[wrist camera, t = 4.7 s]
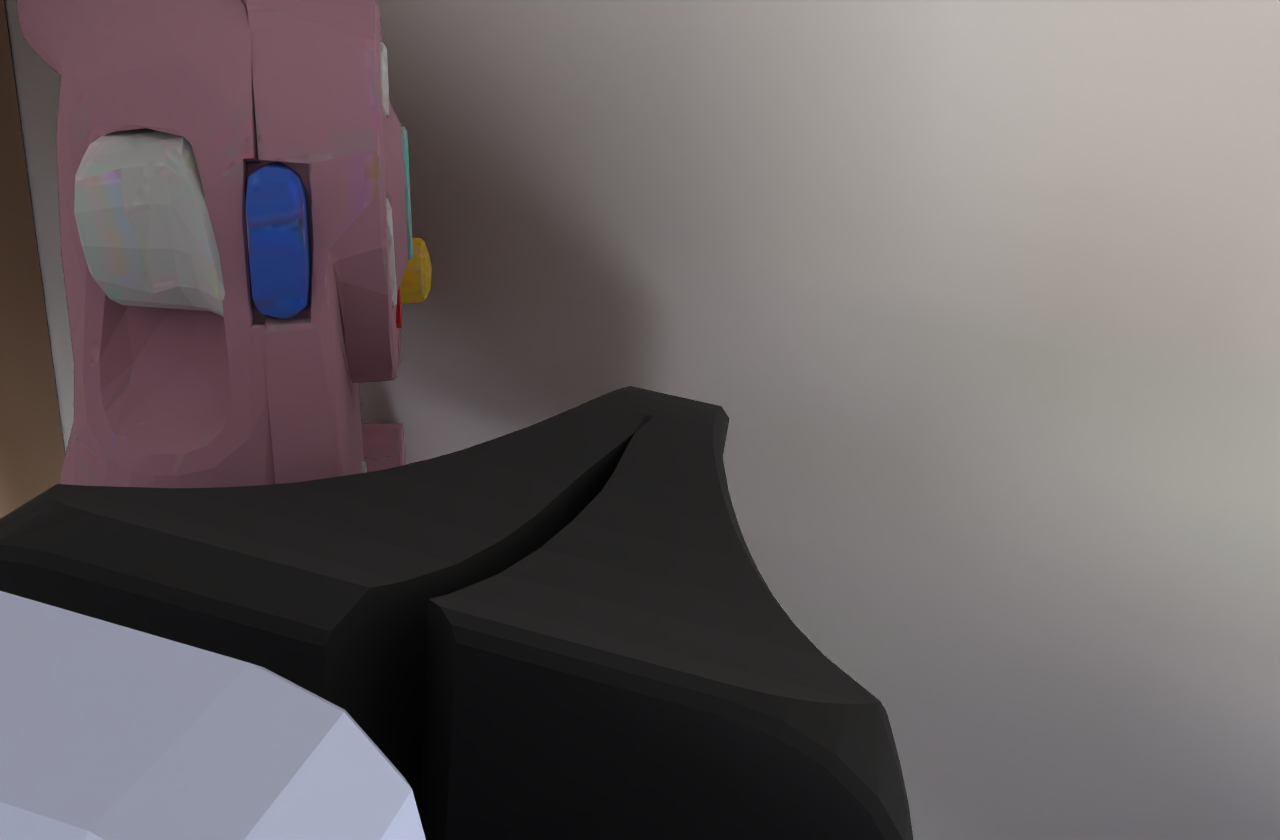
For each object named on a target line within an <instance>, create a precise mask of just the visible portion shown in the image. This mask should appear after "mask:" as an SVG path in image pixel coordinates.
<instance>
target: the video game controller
mask: <svg viewBox="0 0 1280 840" xmlns="http://www.w3.org/2000/svg"><path fill="white" fill-rule="evenodd" d="M16 3H17V14H18V20H19V23H20V27H21V31H22V34H23V38H24V40H25V41H26V42H27V43H28V44H29V45H30V46H31V47H32V49H33V50H34V51H35V52H36V53H37V54H38V55H39V56H40V58H41V59H42V60H43V61H44V62H46V63H47V64H48V65H49V66H50V67H52V68H53V69H54V70H55V71H56V72H58V73H59V74H60V75H61V85H60V96H59V105H58V118H57V130H56V150H57V171H58V192H59V213H60V234H61V254H62V262H63V271H64V280H65V289H66V297H67V306H68V315H69V323H70V332H71V341H72V350H73V358H74V422H73V426H72V430H71V434H70V438H69V442H68V446H67V450H66V454H65V458H64V463H63V467H62V472H61V484H67V485H83V486H114V487H147V488H214V487H239V486H257V485H270V484H284V483H295V482H303V481H310V480H317V479H324V478H331V477H338V476H345V475H352V474H359V473H366V472H373V471H379V470H384V469H389V468H394V467H398V466H402V465H405V451H404V434H403V426H402V424H361V409H360V393H359V383H362V382H375V381H388V380H394V379H395V378H397V367H398V366H399V364H400V362H401V336H400V328H401V304H405V303H417V302H423V301H424V300H425V299H427V297H428V294H429V292H430V289H431V278H432V266H431V261H430V256H429V252H428V249H427V247H426V244H425V242H424V240H422V239H421V238H412V219H411V197H410V175H409V155H408V134H407V130H406V129H405V127H404V126H403V127H402V126H401V124H400V122H399V120H398V118H397V116H396V114H395V111H394V109H393V107H392V105H391V103H390V100H389V78H388V59H387V48H386V46H385V45H384V44H383V42H382V29H381V19H380V10H379V4H378V2H377V1H376V0H16Z"/></svg>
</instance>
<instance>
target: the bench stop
mask: <svg viewBox="0 0 1280 840" xmlns="http://www.w3.org/2000/svg"><path fill="white" fill-rule="evenodd" d="M64 458H65V450H64V443H63V435H62V428H61V421H60V413H59V406H58V398H57V391H56V384H55V376H54V369H53V361H52V354H51V347H50V339H49V332H48V324H47V317H46V310H45V302H44V295H43V287H42V280H41V273H40V265H39V258H38V250H37V243H36V236H35V228H34V221H33V213H32V206H31V199H30V191H29V184H28V176H27V169H26V161H25V154H24V147H23V139H22V132H21V124H20V117H19V110H18V102H17V95H16V87H15V80H14V73H13V65H12V58H11V50H10V43H9V36H8V28H7V21H6V13H5V6H4V0H0V519H1V518H2V517H4V516H5V515H7V514H9V513H10V512H12V511H14V510H15V509H17V508H18V507H20V506H22V505H23V504H25V503H26V502H28V501H30V500H31V499H33V498H35V497H36V496H38V495H39V494H41V493H43V492H44V491H46V490H47V489H49V488H51V487H52V486H54V485H56V484H61V472H62V467H63V463H64Z"/></svg>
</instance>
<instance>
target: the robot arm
mask: <svg viewBox="0 0 1280 840" xmlns="http://www.w3.org/2000/svg"><path fill="white" fill-rule="evenodd" d="M728 423H729V417H728V416H727V414H726V413H725V411H724V410H723V408H722V407H721V406H717V405H713V404H708V403H704V402H699V401H695V400H690V399H686V398H681V397H677V396H672V395H668V394H663V393H658V392H654V391H649V390H645V389H640V388H636V387H631V386H629V387H625V388H621V389H618V390H616V391H613V392H611V393H608V394H606V395H603V396H601V397H598V398H596V399H594V400H591V401H589V402H587V403H584V404H582V405H580V406H577V407H575V408H573V409H570V410H568V411H566V412H563V413H561V414H558V415H556V416H554V417H551V418H549V419H546V420H544V421H542V422H539V423H537V424H534V425H532V426H529V427H527V428H524V429H521V430H518V431H515V432H513V433H510V434H507V435H504V436H501V437H498V438H496V439H493V440H490V441H487V442H484V443H481V444H479V445H476V446H473V447H470V448H467V449H464V450H461V451H457V452H454V453H451V454H447V455H443V456H440V457H436V458H432V459H428V460H424V461H420V462H415V463H411V464H407V465H402V466H398V467H394V468H389V469H384V470H379V471H373V472H366V473H359V474H352V475H345V476H338V477H331V478H324V479H317V480H310V481H303V482H295V483H284V484H270V485H257V486H239V487H214V488H147V487H114V486H83V485H67V484H56V485H54V486H52V487H51V488H49V489H47V490H46V491H44V492H43V493H41V494H39V495H38V496H36V497H35V498H33V499H31V500H30V501H28V502H26V503H25V504H23V505H22V506H20V507H18V508H17V509H15V510H14V511H12V512H10V513H9V514H7V515H5V516H4V517H2V518H1V519H0V840H913V834H912V826H911V819H910V812H909V805H908V800H907V794H906V790H905V785H904V780H903V775H902V770H901V765H900V761H899V757H898V753H897V750H896V746H895V742H894V738H893V734H892V730H891V726H890V723H889V719H888V716H887V713H886V710H885V708H884V707H883V705H882V703H881V702H880V701H879V700H878V699H877V698H875V697H874V696H873V695H872V694H870V693H869V692H868V691H867V690H866V689H864V688H863V687H862V686H861V685H859V684H858V683H857V682H856V681H854V680H853V679H852V678H851V677H850V676H848V675H847V674H846V673H845V672H843V671H842V670H841V669H840V668H838V667H837V666H836V665H835V664H834V663H832V662H831V661H830V660H829V659H827V658H826V657H825V656H824V655H823V654H822V653H821V652H820V651H819V650H818V649H817V648H816V647H815V646H814V645H813V644H812V642H811V641H810V640H809V639H808V638H807V637H806V636H805V635H804V634H803V633H802V632H801V631H800V630H799V629H798V628H797V627H796V626H795V624H794V623H793V622H792V621H791V619H790V618H789V617H788V615H787V614H786V613H785V611H784V610H783V609H782V607H781V606H780V604H779V603H778V602H777V600H776V599H775V598H774V596H773V595H772V593H771V592H770V590H769V588H768V586H767V585H766V583H765V581H764V579H763V578H762V576H761V574H760V572H759V571H758V569H757V567H756V565H755V562H754V560H753V558H752V556H751V554H750V552H749V550H748V548H747V545H746V543H745V541H744V538H743V536H742V533H741V530H740V528H739V525H738V522H737V519H736V515H735V512H734V509H733V506H732V502H731V499H730V495H729V491H728V486H727V480H726V475H725V469H724V463H723V451H724V445H725V440H726V434H727V428H728Z"/></svg>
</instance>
